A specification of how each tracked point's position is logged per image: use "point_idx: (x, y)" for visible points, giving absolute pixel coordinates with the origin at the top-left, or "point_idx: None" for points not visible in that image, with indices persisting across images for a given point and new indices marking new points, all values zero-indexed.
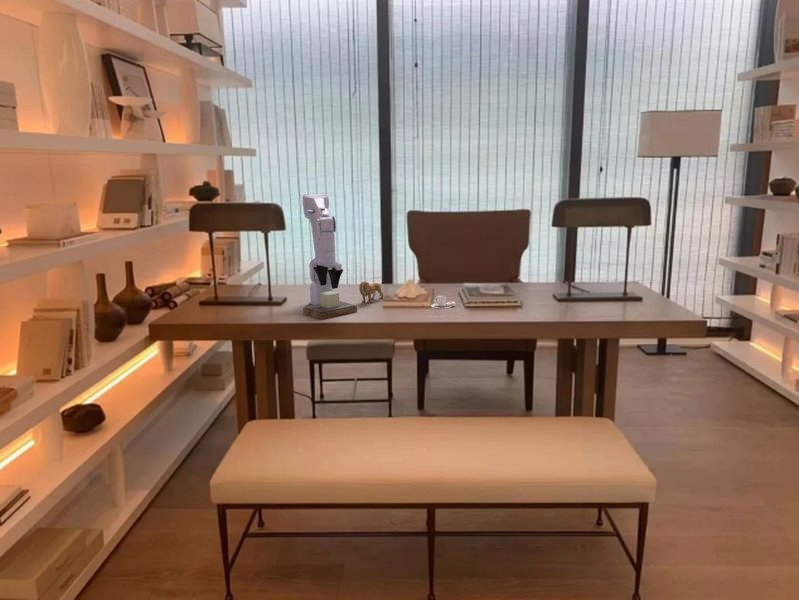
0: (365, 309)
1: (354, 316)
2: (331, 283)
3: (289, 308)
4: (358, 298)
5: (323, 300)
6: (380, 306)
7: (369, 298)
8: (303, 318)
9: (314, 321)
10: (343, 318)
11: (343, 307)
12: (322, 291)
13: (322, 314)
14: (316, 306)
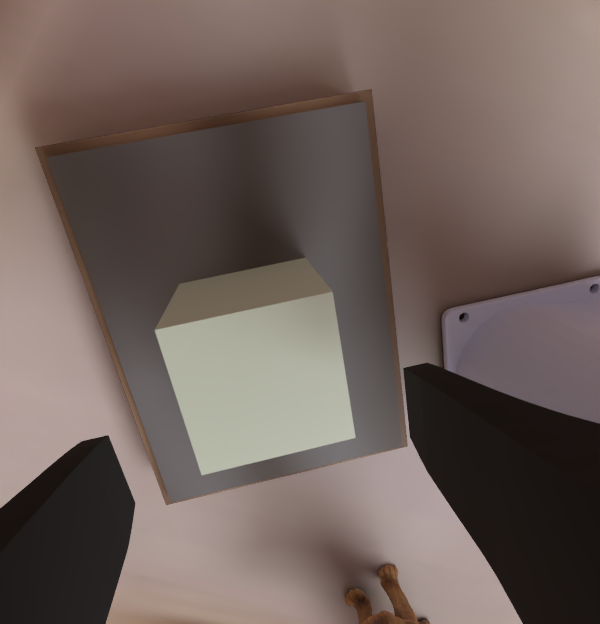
0: (207, 533)
1: (45, 418)
2: (44, 486)
3: (595, 69)
4: (489, 571)
5: (257, 284)
6: (229, 618)
7: (360, 621)
8: (188, 19)
9: (20, 65)
10: (18, 330)
11: (144, 405)
12: (543, 389)
13: (47, 168)
14: (316, 217)
